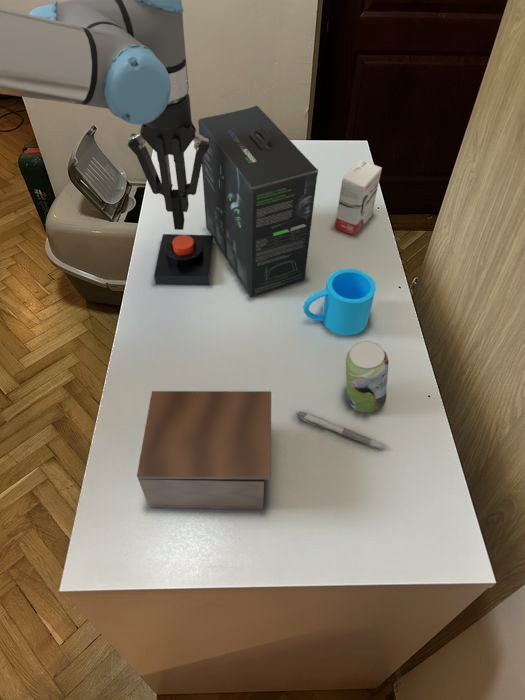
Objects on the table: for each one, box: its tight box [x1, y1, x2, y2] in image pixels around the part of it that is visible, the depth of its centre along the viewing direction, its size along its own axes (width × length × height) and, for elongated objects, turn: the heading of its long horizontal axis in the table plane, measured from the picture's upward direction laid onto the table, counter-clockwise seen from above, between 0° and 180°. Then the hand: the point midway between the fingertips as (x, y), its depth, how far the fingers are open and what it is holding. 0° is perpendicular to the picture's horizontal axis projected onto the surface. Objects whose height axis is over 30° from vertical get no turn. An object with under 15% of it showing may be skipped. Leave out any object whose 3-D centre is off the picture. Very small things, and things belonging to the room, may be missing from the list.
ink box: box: [334, 159, 383, 236], centre depth 108 cm, size 9×5×12 cm, turn 147°
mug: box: [302, 268, 377, 337], centre depth 91 cm, size 12×8×8 cm
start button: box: [172, 234, 194, 255], centre depth 100 cm, size 4×4×2 cm
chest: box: [137, 478, 265, 511], centre depth 73 cm, size 16×13×9 cm
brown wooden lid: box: [136, 390, 272, 481], centre depth 69 cm, size 16×13×1 cm
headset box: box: [197, 105, 319, 298], centre depth 95 cm, size 22×12×26 cm, turn 26°
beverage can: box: [345, 340, 389, 413], centre depth 79 cm, size 6×7×12 cm
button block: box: [153, 233, 215, 286], centre depth 102 cm, size 10×12×4 cm
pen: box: [295, 411, 385, 449], centre depth 80 cm, size 1×14×1 cm, turn 65°
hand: (179, 224), depth 96 cm, fingers closed
